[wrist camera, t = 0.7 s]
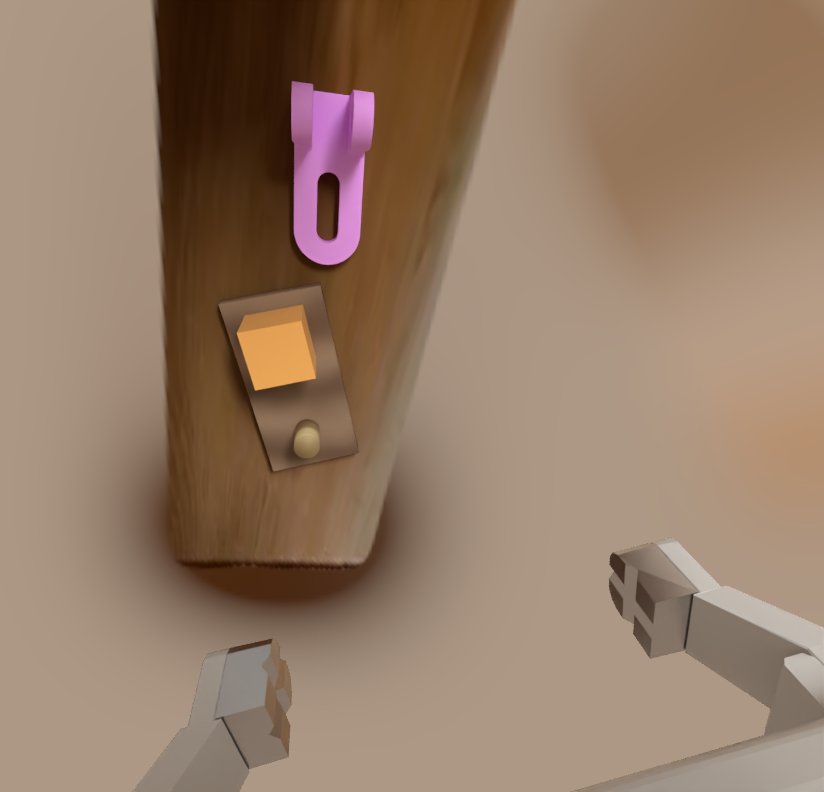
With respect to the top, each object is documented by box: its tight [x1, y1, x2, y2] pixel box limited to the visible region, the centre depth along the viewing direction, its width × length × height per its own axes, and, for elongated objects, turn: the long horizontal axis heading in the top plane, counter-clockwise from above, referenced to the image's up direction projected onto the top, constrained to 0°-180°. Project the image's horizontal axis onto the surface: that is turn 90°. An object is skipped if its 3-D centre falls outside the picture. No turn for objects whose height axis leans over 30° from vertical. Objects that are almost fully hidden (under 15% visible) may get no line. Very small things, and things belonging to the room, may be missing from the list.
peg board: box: [218, 283, 359, 471], centre depth 47 cm, size 18×9×5 cm, turn 8°
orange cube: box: [237, 305, 316, 391], centre depth 43 cm, size 5×5×5 cm
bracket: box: [291, 81, 374, 265], centre depth 39 cm, size 13×6×7 cm, turn 174°
